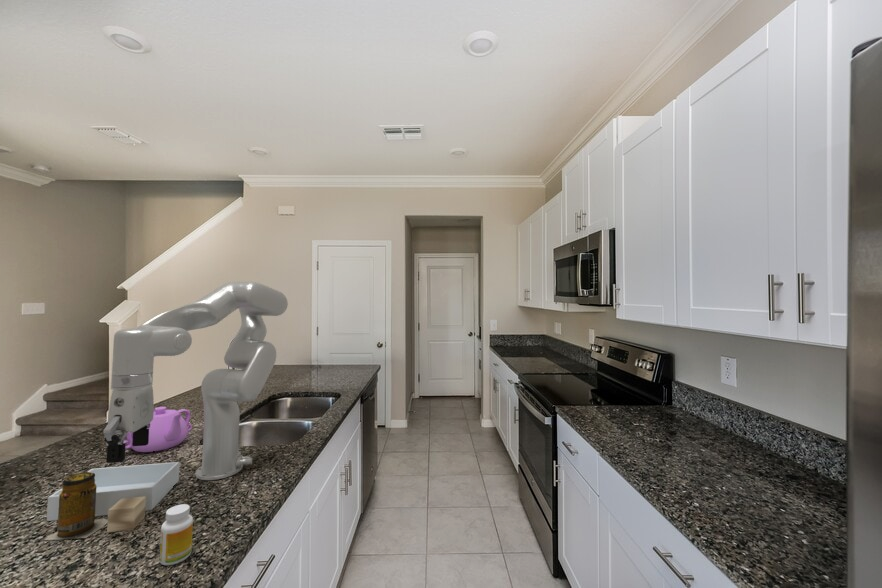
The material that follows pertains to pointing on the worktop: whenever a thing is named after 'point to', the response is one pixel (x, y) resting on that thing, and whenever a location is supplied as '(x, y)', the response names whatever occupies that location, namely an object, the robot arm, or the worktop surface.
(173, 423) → the teapot
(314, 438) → the worktop surface
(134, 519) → the cube
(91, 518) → the condiment
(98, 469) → the tote
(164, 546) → the supplement bottle
